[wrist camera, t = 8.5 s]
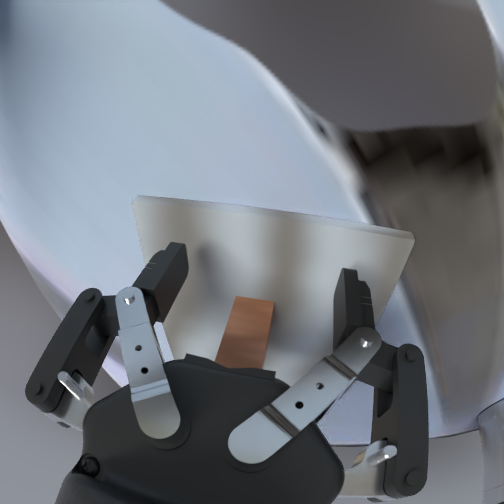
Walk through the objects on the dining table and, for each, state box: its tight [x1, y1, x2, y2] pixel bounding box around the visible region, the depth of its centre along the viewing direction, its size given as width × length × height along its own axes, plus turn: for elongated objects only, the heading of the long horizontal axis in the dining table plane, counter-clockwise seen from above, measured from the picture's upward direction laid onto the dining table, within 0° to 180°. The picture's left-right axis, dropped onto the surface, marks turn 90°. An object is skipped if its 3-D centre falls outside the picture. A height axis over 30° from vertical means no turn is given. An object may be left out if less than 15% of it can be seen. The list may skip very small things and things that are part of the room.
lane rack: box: [131, 196, 415, 387], centre depth 26 cm, size 16×39×3 cm, turn 178°
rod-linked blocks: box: [214, 296, 274, 369], centre depth 22 cm, size 6×20×6 cm, turn 179°
